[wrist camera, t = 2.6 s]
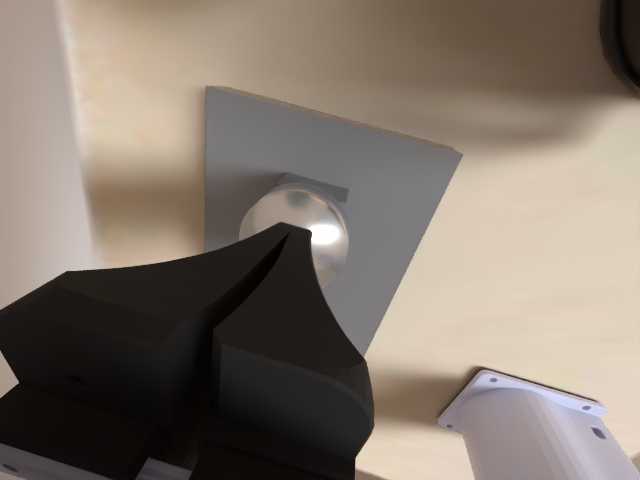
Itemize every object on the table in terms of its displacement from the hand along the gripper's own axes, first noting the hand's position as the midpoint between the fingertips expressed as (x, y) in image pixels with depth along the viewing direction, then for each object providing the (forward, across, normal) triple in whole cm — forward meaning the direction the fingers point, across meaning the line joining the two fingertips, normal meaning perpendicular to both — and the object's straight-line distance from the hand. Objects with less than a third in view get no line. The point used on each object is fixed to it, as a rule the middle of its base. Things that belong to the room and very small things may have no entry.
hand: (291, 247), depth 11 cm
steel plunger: (+6, 0, 0) cm, 6 cm away
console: (+6, 0, +4) cm, 8 cm away
